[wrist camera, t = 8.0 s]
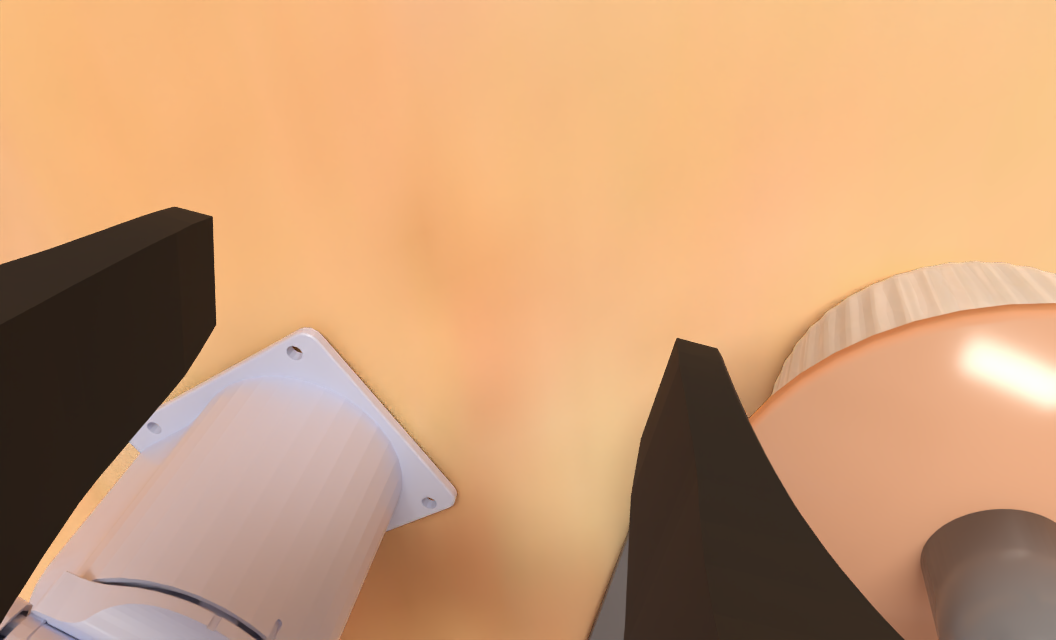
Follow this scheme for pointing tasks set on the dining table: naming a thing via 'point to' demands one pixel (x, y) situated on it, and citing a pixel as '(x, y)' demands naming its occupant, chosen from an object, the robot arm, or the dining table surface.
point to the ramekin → (916, 305)
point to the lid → (933, 469)
